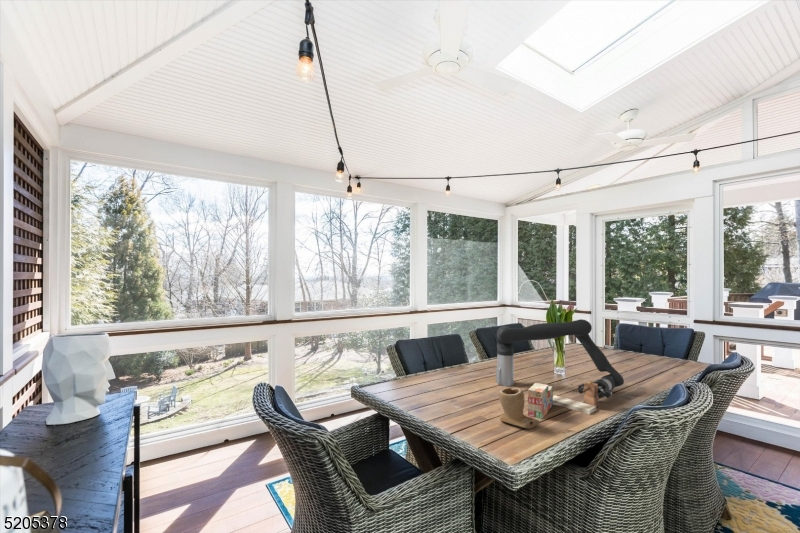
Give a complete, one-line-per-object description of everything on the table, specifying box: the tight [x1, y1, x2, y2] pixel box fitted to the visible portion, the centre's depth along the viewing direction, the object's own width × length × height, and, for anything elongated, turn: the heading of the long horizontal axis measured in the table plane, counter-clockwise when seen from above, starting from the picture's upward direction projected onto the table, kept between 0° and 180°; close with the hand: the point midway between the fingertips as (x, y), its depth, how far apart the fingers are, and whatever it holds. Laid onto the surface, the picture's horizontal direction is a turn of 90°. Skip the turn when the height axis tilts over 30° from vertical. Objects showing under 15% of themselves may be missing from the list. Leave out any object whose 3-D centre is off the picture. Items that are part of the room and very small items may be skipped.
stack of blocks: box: [527, 382, 554, 420], centre depth 171 cm, size 21×6×12 cm, turn 145°
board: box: [553, 394, 597, 415], centre depth 176 cm, size 20×8×2 cm, turn 42°
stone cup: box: [498, 386, 540, 430], centre depth 154 cm, size 15×12×15 cm
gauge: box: [582, 381, 599, 408], centre depth 174 cm, size 11×4×12 cm, turn 132°
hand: (589, 393), depth 175 cm, fingers open, 8 cm apart
